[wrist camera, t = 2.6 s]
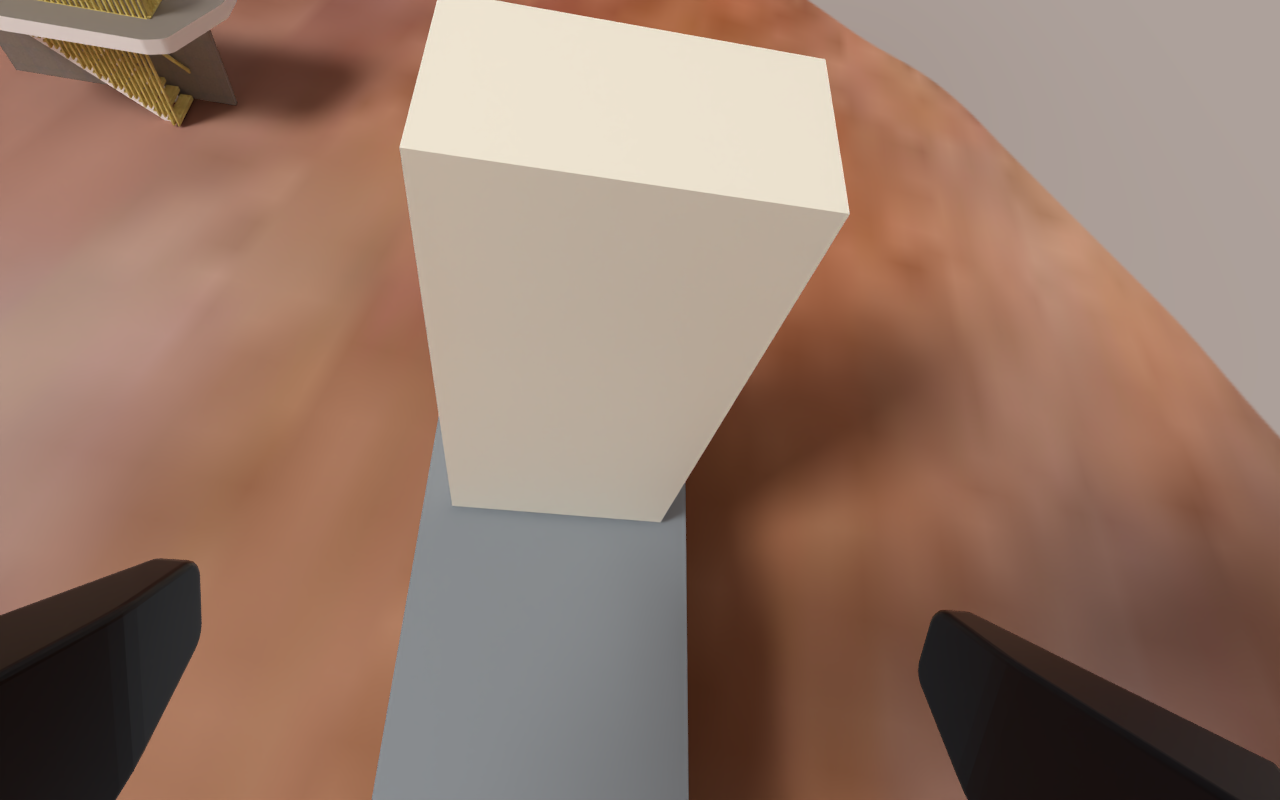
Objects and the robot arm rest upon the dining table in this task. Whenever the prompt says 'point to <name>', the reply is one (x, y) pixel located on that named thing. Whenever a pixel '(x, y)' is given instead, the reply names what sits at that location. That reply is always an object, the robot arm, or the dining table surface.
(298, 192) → the dining table surface
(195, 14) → the platform
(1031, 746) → the robot arm
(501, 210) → the stub
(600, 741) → the grey flat block
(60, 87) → the dining table surface
